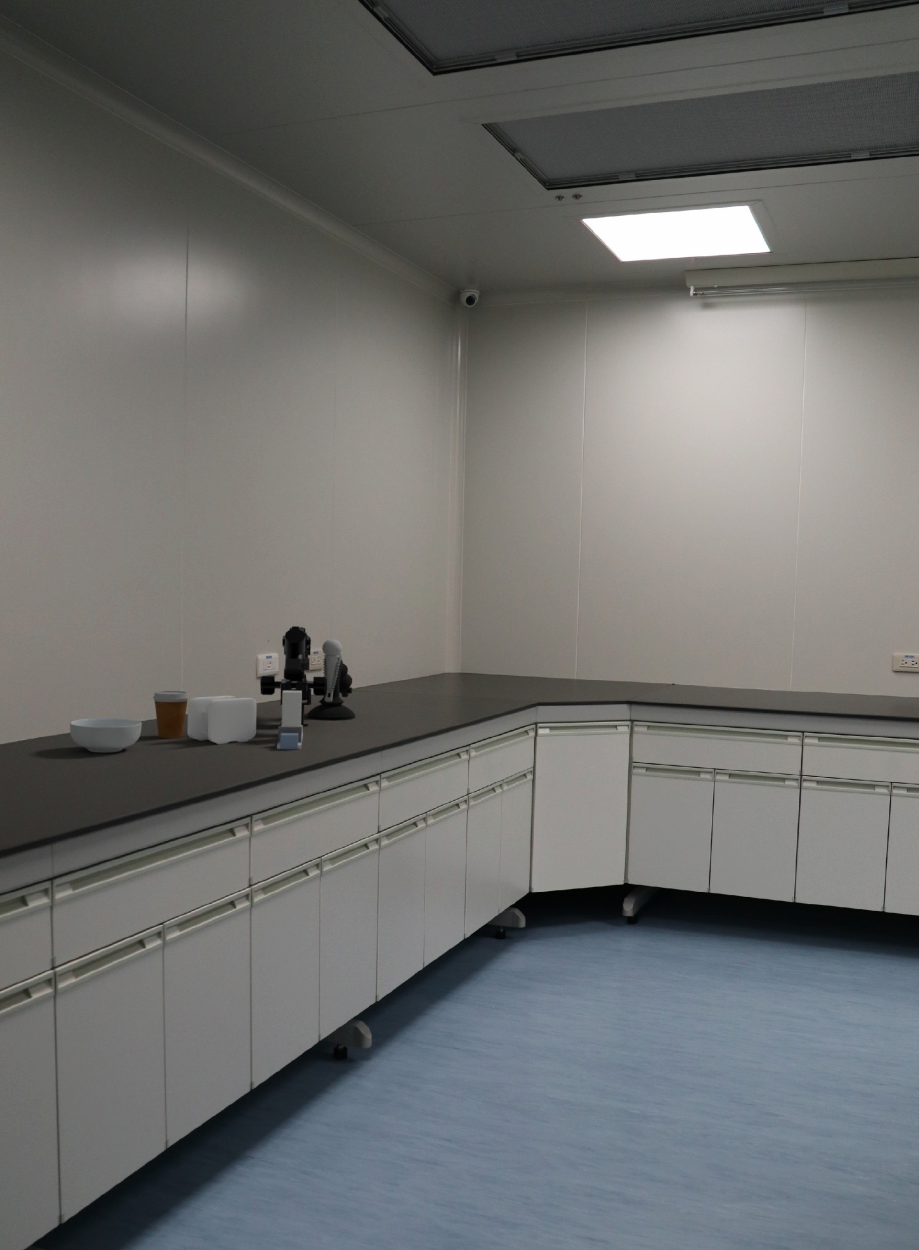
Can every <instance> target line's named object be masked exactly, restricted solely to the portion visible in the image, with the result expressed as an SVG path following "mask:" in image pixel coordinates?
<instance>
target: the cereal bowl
mask: <svg viewBox="0 0 919 1250" xmlns="http://www.w3.org/2000/svg"><path fill="white" fill-rule="evenodd" d="M142 724H143V723H142V722H141V721H140V720H135V719H130V718H129V719H127V718H114V717H113V718H111V717H100V718H99V717H98V718H97V717H94V718H82V719H76V720H73V721H71V722H70V723H69V732H70V733H69V734H70V736H71V740H73V742H74V743H76V744H77V745H79V746H81V747H82V748H86V749H87V750H88V751H89V752H91V753H104V754H105V753H116V752H121V751H122V750H123V749H125V748H127V747H130V746H132V745H134V744H135V743H136V742H137V741H138V740H139V738H140V736H141V733H142Z"/></svg>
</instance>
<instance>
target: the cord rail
mask: <svg viewBox="0 0 919 1250" xmlns="http://www.w3.org/2000/svg"><path fill="white" fill-rule="evenodd" d="M303 727H304V726H303V725H301V726H282V724H281V725H280V726H279V725H278V727H277V728H278V731H277V733H278V734H277V744H276V749H277V750H301V749H302V744H303V738H304V732H303V731H304V730H303Z"/></svg>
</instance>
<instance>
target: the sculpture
mask: <svg viewBox="0 0 919 1250" xmlns="http://www.w3.org/2000/svg"><path fill="white" fill-rule="evenodd" d="M321 649H322V652H323V654H324V655H323V656H324V658H323V664H322V665H323V677H326V678H327V695H325V696H322V698H321V699H320V700H319V701H318V703H319V705H316V706H315V707H313V708H311V709H310V710H309V711H308V712H307V713H306V717H307V718H308V719H312V720H315V721H316V720H317V721H319V720H320V721H348V720H353V719H355V718H356V714H355V712H354V711H353V710H352V709H351V708H349V707H347V706H346V705H343V704H344V703H345V701H344V700H343V698H347V697H348V696H349V694H352V693H353V687H352V683H353V678H352V675H350V674H349V669H348V666H347V665H346V664H345V663H344V662H343V655H342V653H341V652H342V650H343V647H342V644H341V641H339V640H338V639H335V638H329V639H327V640H325V641H324V642H323V644H322V647H321ZM340 694H341V697H340Z"/></svg>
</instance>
